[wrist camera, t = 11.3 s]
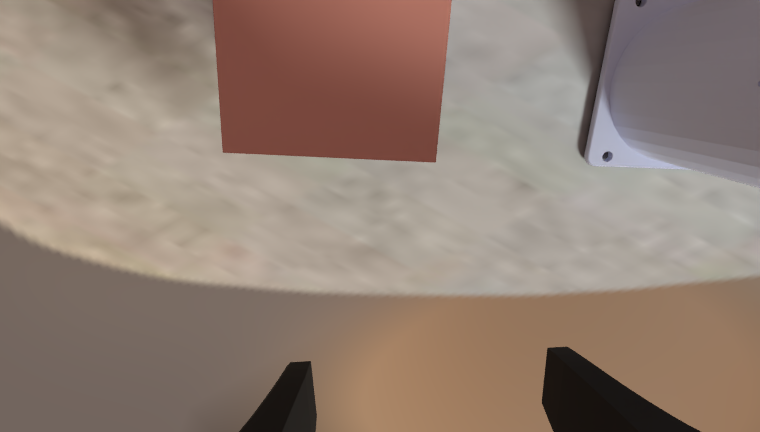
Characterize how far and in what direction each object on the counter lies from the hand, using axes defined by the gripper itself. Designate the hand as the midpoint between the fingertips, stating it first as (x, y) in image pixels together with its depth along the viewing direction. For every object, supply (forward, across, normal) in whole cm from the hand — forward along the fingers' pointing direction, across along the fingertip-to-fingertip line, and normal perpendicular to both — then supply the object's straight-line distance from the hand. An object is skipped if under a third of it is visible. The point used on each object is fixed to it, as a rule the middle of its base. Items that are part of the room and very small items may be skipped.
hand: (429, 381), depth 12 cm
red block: (+3, +2, -10) cm, 10 cm away
